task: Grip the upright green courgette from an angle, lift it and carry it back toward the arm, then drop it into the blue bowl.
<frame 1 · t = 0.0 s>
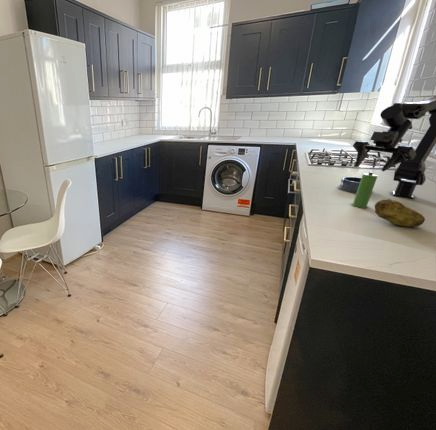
hand: (368, 168, 111), 15 cm above the countertop, tool tilted 35°, fingers open, 9 cm apart
potato: (394, 224, 97), on the countertop
blue bowl: (354, 189, 134), on the countertop
courgette: (359, 205, 114), on the countertop
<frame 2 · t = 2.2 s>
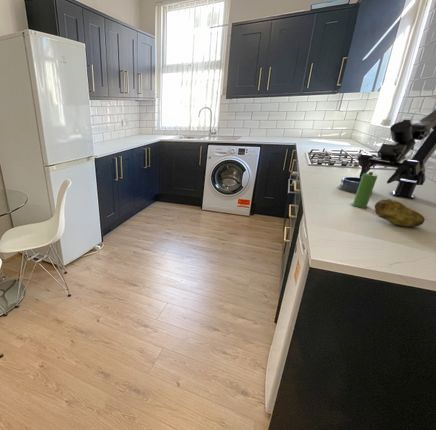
hand: (373, 180, 111), 10 cm above the countertop, tool tilted 45°, fingers open, 9 cm apart
nothing on the countertop moved.
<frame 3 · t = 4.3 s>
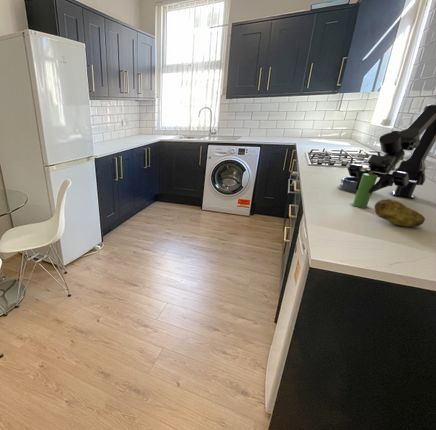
hand: (362, 190, 111), 7 cm above the countertop, tool tilted 45°, fingers closed on courgette, 4 cm apart
courgette: (359, 205, 114), on the countertop, touching gripper
everything else where it was.
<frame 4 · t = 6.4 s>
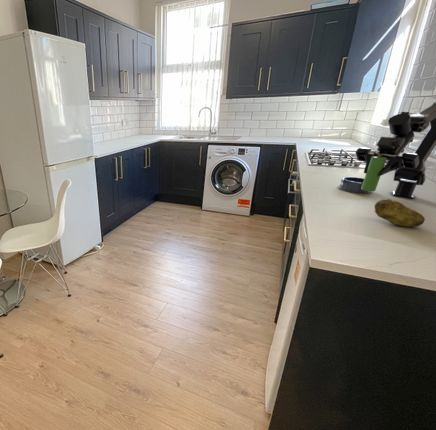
hand: (371, 174, 109), 13 cm above the countertop, tool tilted 45°, fingers closed on courgette, 4 cm apart
courgette: (368, 189, 112), point 7 cm above the countertop, touching gripper
everything else where it was.
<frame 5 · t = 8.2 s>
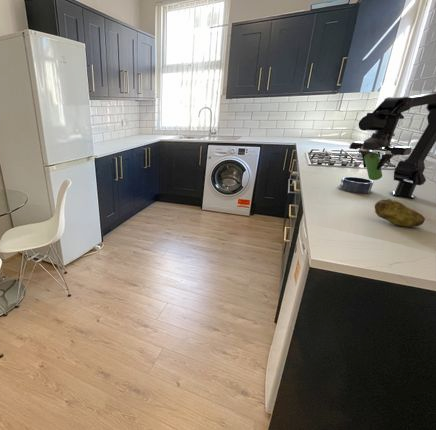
hand: (371, 168, 118), 13 cm above the countertop, tool pointing down, fingers closed on courgette, 4 cm apart
courgette: (375, 176, 122), point 9 cm above the countertop, tilted 44°, touching gripper
everything else where it was.
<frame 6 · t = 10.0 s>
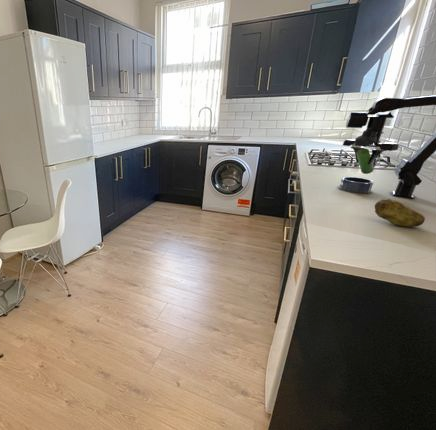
hand: (363, 163, 129), 13 cm above the countertop, tool pointing down, fingers closed on courgette, 4 cm apart
courgette: (367, 170, 133), point 9 cm above the countertop, tilted 45°, touching gripper
everything else where it was.
when the fingers open (9 cm above the countertop, at t = 11.4 s): courgette drops 1 cm and tips over, resting on blue bowl.
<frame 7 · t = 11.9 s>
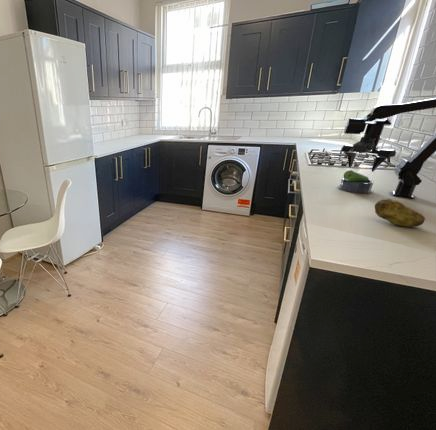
hand: (360, 169, 131), 10 cm above the countertop, tool pointing down, fingers open, 9 cm apart
courgette: (363, 180, 134), point 4 cm above the countertop, tilted 73°, touching blue bowl
everything else where it was.
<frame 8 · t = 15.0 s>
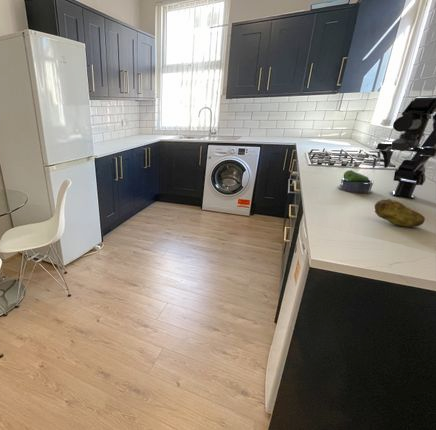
hand: (398, 169, 117), 13 cm above the countertop, tool pointing down, fingers open, 9 cm apart
nothing on the countertop moved.
at the end: courgette inside the target area in the blue bowl (4.6 cm from its centre), point 4.4 cm above the blue bowl's base; the gripper is holding nothing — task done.
